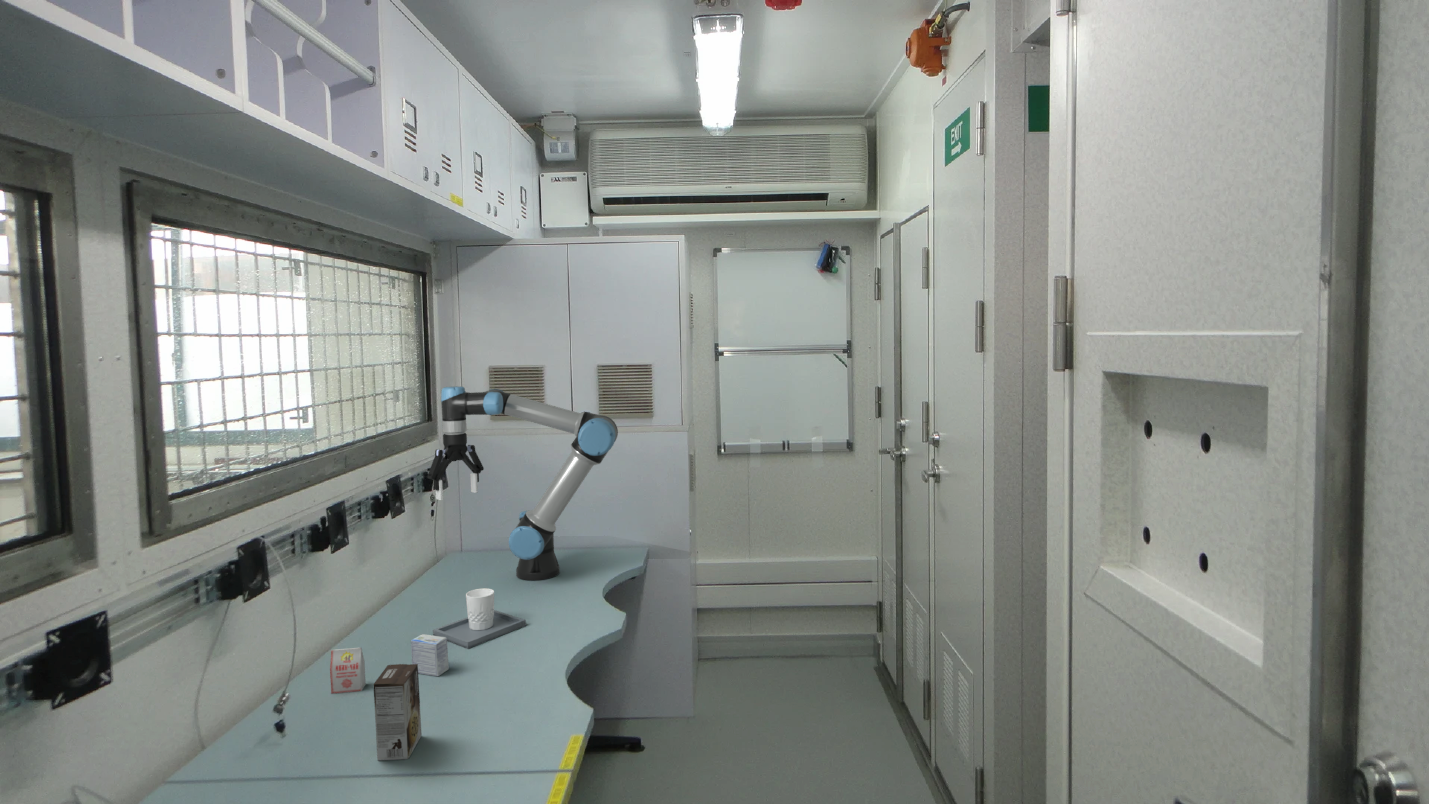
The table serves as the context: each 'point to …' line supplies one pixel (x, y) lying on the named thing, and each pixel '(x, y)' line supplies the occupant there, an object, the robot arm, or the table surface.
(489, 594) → the white cup
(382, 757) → the coffee box
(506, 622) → the tray
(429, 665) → the medicine box
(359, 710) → the table surface
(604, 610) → the table surface
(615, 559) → the table surface
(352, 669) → the white paper packet
